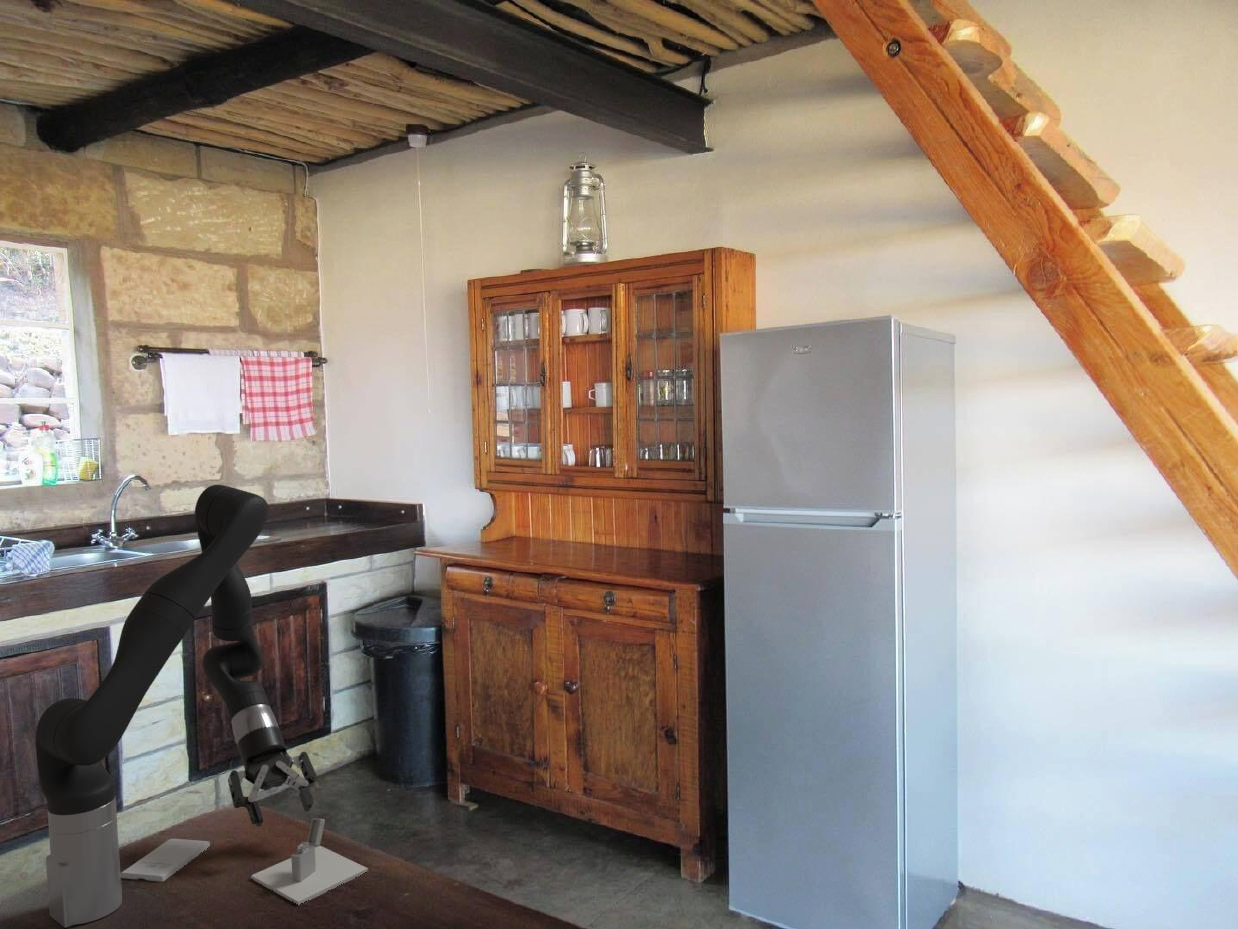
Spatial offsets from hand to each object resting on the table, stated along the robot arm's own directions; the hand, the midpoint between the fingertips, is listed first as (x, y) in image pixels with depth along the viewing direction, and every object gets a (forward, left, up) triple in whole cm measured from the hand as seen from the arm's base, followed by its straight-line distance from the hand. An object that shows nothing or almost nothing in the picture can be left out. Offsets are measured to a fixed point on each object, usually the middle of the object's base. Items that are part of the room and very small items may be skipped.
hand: (285, 816), depth 163 cm
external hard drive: (-14, +15, -8) cm, 22 cm away
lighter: (-2, -10, -6) cm, 12 cm away
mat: (-2, -10, -7) cm, 12 cm away
